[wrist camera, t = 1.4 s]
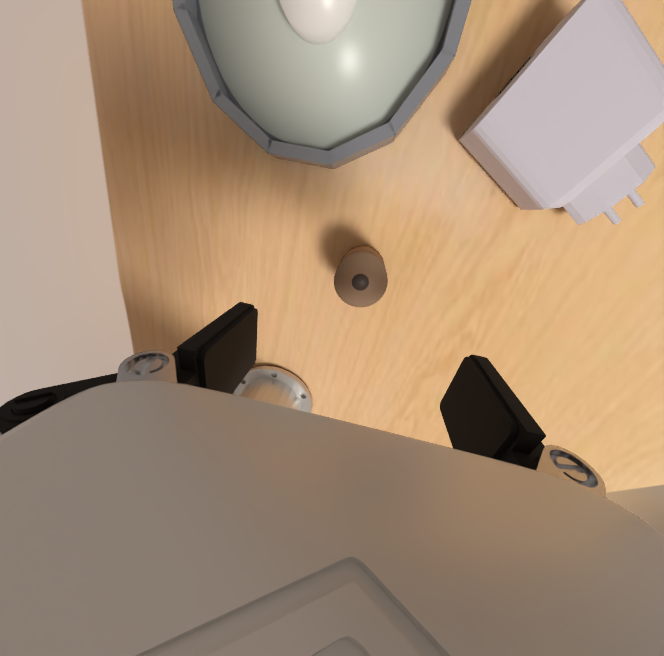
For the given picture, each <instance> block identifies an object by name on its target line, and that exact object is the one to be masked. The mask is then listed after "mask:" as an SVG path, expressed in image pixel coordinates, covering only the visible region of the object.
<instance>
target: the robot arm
mask: <svg viewBox="0 0 664 656" xmlns="http://www.w3.org/2000/svg"><path fill="white" fill-rule="evenodd" d="M257 316H258V311H257V309H255V308H254V306H253V305H251V304H247V303H243V302H239V303H238V304H236V305H235V306H234V307H232V308H231V309H229V310H228V311H227V312H225V313H224V314H223V315H221V316H220V317H218V318H217V319H216V320H214V321H213V322H211V323H210V324H209V325H207V326H206V327H204V328H203V329H202V330H200V331H199V332H198V333H196V334H195V335H193V336H192V337H191V338H189V339H188V340H186V341H185V342H184V343H182V344H181V345H179V346H178V347H177V351H176V352H174V353H173V354H170V353H169V352H165V351H159V350H154V351H145V352H140V353H138V354H135V355H132V356H131V357H129V358H127V359H125V360H124V361H123V362H122V363H121V364H120V366H119V369H118V373H116V374H111V375H106V376H101V377H96V378H91V379H86V380H81V381H76V382H71V383H67V384H62V385H57V386H52V387H47V388H42V389H38V390H33V391H30V392H27V393H24V394H22V395H20V396H18V397H16V398H14V399H12V400H10V401H8V402H7V403H5V404H4V405H2V406H1V407H0V656H664V536H663V535H662V534H661V533H659V531H657V530H656V529H655V528H654V527H652V526H651V525H650V524H649V523H647V522H646V521H644V520H643V519H641V518H640V517H638V516H636V515H635V514H633V513H632V512H630V511H628V510H627V509H625V508H623V507H622V506H620V505H618V504H616V503H614V502H613V501H611V500H609V499H607V498H606V497H605V495H606V488H605V484H604V482H603V480H602V478H601V477H600V475H599V474H598V473H597V472H596V471H595V470H594V469H593V468H592V467H591V466H590V465H589V464H588V463H587V462H585V461H584V460H583V459H581V458H580V457H578V456H577V455H576V454H574V453H572V452H570V451H568V450H566V449H564V448H561V447H559V446H554V445H547V446H544V445H543V444H542V442H541V441H542V440H543V439H544V438H545V437H546V435H545V433H544V432H543V431H542V429H541V428H540V427H539V426H538V424H537V423H536V422H535V420H534V419H533V418H532V416H531V415H530V414H529V412H528V411H527V410H526V408H525V407H524V406H523V405H522V403H521V402H520V401H519V399H518V398H517V397H516V395H515V394H514V393H513V391H512V390H511V389H510V387H509V386H508V385H507V383H506V382H505V381H504V380H503V378H502V377H501V376H500V374H499V373H498V372H497V370H496V369H495V368H494V366H493V365H492V364H491V362H490V361H489V360H488V359H487V358H485V357H481V356H477V355H470V356H469V357H465V358H464V359H463V361H462V363H461V365H460V367H459V369H458V371H457V372H456V374H455V376H454V378H453V380H452V382H451V384H450V386H449V388H448V389H447V391H446V393H445V395H444V397H443V399H442V401H441V403H440V410H441V413H442V416H443V419H444V422H445V425H446V428H447V431H448V434H449V437H450V440H451V443H452V446H453V448H449V447H445V446H441V445H437V444H433V443H429V442H425V441H421V440H417V439H413V438H409V437H405V436H402V435H398V434H394V433H390V432H386V431H381V430H377V429H373V428H369V427H365V426H361V425H357V424H353V423H349V422H345V421H341V420H337V419H333V418H329V417H325V416H321V415H316V414H312V413H311V410H312V397H311V394H310V392H309V390H308V388H307V387H306V385H305V384H304V383H303V382H302V381H301V380H300V379H299V378H298V377H297V376H295V375H294V374H292V373H291V372H289V371H286V370H284V369H281V368H278V367H274V366H258V367H254V368H252V367H253V365H254V363H255V361H256V347H257ZM233 392H234V394H232V393H233Z"/></svg>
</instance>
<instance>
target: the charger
mask: <svg viewBox="0 0 664 656" xmlns="http://www.w3.org/2000/svg"><path fill="white" fill-rule="evenodd" d="M537 50H538V51H537ZM536 51H537V52H536ZM535 52H536V53H535ZM534 53H535V54H534ZM533 54H534V55H533ZM533 54H532V55H533V56H532V55H531V56H532V58H531V59H530V60H529V61H528V62H527V63H526V64H525V66H524V67H523V68H522V69H521V70H520V71H519V73H518V74H517V75H516V76H515V77H514V78H513V80H512V81H511V82H510V83H509V84H508V85H507V87H506V88H505V89H504V90H503V91H502V92H501V94H500V95H499V96H497V97H496V98H495V99H493V100H492V101H491V103H490V104H489V105H488V106H487V107H486V108H485V110H484V111H483V112H482V113H481V114H480V115H479V117H478V118H477V119H476V120H475V121H474V123H473V124H472V125H471V126H470V127H469V128H468V130H467V131H466V132H465V133H464V134H463V136H462V137H461V138H460V139H459V141H460V142H461V143H462V144H463V145H464V147H465V148H466V149H467V150H468V151H469V152H470V153H471V154H472V155H473V157H474V158H475V159H476V160H477V161H478V162H479V163H480V164H481V166H482V167H483V168H484V169H485V170H486V171H487V172H488V173H489V174H490V176H491V177H492V178H493V179H494V180H495V181H496V182H497V183H498V184H499V186H500V187H501V188H502V189H503V190H504V191H505V192H506V193H507V195H508V196H509V197H510V198H511V199H512V200H513V201H514V202H515V203H516V205H517V206H518V207H519V208H520V209H521V210H542V209H551V208H560V207H562V206H563V207H564V209H565V210H566V211H567V212H568V213H569V214H570V216H571V217H572V218H573V219H574V220H575V222H576V223H577V224H578V225H579V224H582V223H585V222H587V221H589V220H590V219H592V218H594V217H596V216H598V215H599V214H601V213H603V212H604V213H605V215H606V216H607V217H608V218H609V220H610V221H611V222H612V223H613V224H617V223H619V222H620V221H621V219H620V217H619V216H618V215H617V214H616V212H615V211H614V210H613V209H612V207H613V206H614V205H615V204H616V203H618V202H619V201H620V200H622V199H623V198H624V197H625V196H628V198H629V199H630V200H631V201H632V203H633V204H634V205H635V207H640V206H642V205H643V204H644V201H643V199H642V198H641V197H640V195H639V194H638V193H637V192H636V190H635V189H636V188H637V187H638V186H640V185H641V184H642V183H643V182H644V181H645V180H646V179H647V177H648V176H649V175H650V174H651V172H652V171H653V170H654V168H655V164H654V163H653V161H652V160H651V159H650V157H649V156H648V154H647V153H646V152H645V150H644V149H643V147H642V146H641V145H640V142H641V141H642V140H643V139H645V138H646V137H647V136H648V135H649V134H651V133H652V132H653V131H654V130H655V129H657V128H658V127H659V126H660V125H661V124H662V123H663V122H664V65H663V64H662V62H661V61H660V59H659V57H658V56H657V54H656V53H655V51H654V50H653V48H652V47H651V45H650V43H649V42H648V40H647V39H646V37H645V36H644V34H643V33H642V31H641V29H640V28H639V26H638V25H637V23H636V22H635V20H634V19H633V17H632V16H631V14H630V12H629V11H628V9H627V8H626V6H625V5H624V3H623V2H622V0H581V1H580V2H579V3H578V4H577V5H576V6H575V7H574V8H573V9H572V10H571V11H570V12H569V13H568V14H567V15H566V16H565V17H564V18H563V19H562V20H561V21H560V23H559V24H558V25H557V26H556V27H555V28H554V29H553V30H552V32H551V33H550V34H549V35H548V36H547V37H546V38H545V40H544V41H543V42H542V43H541V44H540V45H539V47H538V48H537V49H536V50H535V51H534V52H533ZM531 56H530V57H531ZM530 57H529V58H530ZM529 58H528V59H529ZM528 59H527V60H528ZM523 65H524V64H523ZM523 65H522V66H523ZM522 66H521V67H522ZM517 72H518V71H517ZM517 72H516V73H517ZM516 73H515V74H516ZM511 79H512V78H511ZM511 79H510V80H511ZM510 80H509V81H510ZM505 86H506V85H505ZM505 86H504V87H505ZM504 87H503V88H504ZM499 93H500V92H499ZM499 93H498V94H499ZM498 94H497V95H498Z"/></svg>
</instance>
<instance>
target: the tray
mask: <svg viewBox="0 0 664 656" xmlns="http://www.w3.org/2000/svg"><path fill="white" fill-rule="evenodd" d="M470 4H471V0H173V9H174V12H175V14H176V17H177V19H178V21H179V24H180V26H181V28H182V31H183V33H184V35H185V38H186V40H187V42H188V45H189V47H190V49H191V52H192V54H193V56H194V59H195V61H196V63H197V66H198V68H199V70H200V73H201V75H202V77H203V80H204V82H205V84H206V87H207V89H208V91H209V94H210V96H211V98H212V101H213V102H214V103H215V104H216V105H217V106H218V107H219V108H220V109H221V110H223V111H224V112H225V113H226V114H227V115H228V116H229V117H230V118H231V119H232V120H233V121H234V122H235V123H236V124H237V125H238V126H239V127H240V128H242V129H243V130H244V131H245V132H246V133H247V134H248V135H249V136H250V137H251V138H252V139H253V140H254V141H255V142H256V143H257V144H258V145H260V146H261V147H262V148H263V149H264V150H265V151H266V152H267V153H269V154H271V155H272V156H274V157H276V158H279V159H284V160H289V161H295V162H300V163H305V164H310V165H315V166H320V167H326V168H331V169H333V168H334V169H335V168H337V167H339V166H341V165H344V164H346V163H348V162H350V161H352V160H355V159H357V158H359V157H361V156H363V155H366V154H368V153H370V152H372V151H374V150H377V149H379V148H381V147H383V146H385V145H388V144H390V143H392V141H394V140H395V139H396V137H397V136H398V135H399V133H400V132H401V131H402V129H403V128H404V127H405V126H406V124H407V123H408V122H409V120H410V119H411V118H412V116H413V115H414V114H415V112H416V111H417V110H418V109H419V107H420V106H421V105H422V103H423V102H424V101H425V99H426V98H427V97H428V96H429V94H430V93H431V92H432V90H433V89H434V88H435V86H436V85H437V84H438V83H439V81H440V80H441V79H442V77H443V76H444V75H445V73H446V71H447V70H448V68H449V66H450V64H451V62H452V61H453V59H454V57H455V55H456V51H457V48H458V45H459V41H460V38H461V34H462V31H463V28H464V24H465V21H466V17H467V14H468V11H469V7H470Z"/></svg>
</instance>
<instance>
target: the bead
mask: <svg viewBox="0 0 664 656" xmlns="http://www.w3.org/2000/svg"><path fill="white" fill-rule="evenodd" d="M387 282H388V279H387V273H386V269H385V265H384V261H383V258H382V256H381V255H380V253H379V252H378V251H376V250H375V249H374V248H371V247H368V246H358V247H355V248H353V249H351V250H350V251H348V252H347V253H346V255H345V256H344V258H343V260H342V261H341V263H340V265H339V267H338V268H337V270H336V273H335V276H334V286H335V290H336V292H337V294H338V296H339V297H340V298H341V299H342V300H343V301H344V302H345V303H347V304H349V305H351V306H354V307H366V306H370V305H372V304H374V303H376V302H377V301H378V300H380V298H381V297H382V296H383V295H384V293H385V291H386V288H387Z"/></svg>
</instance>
